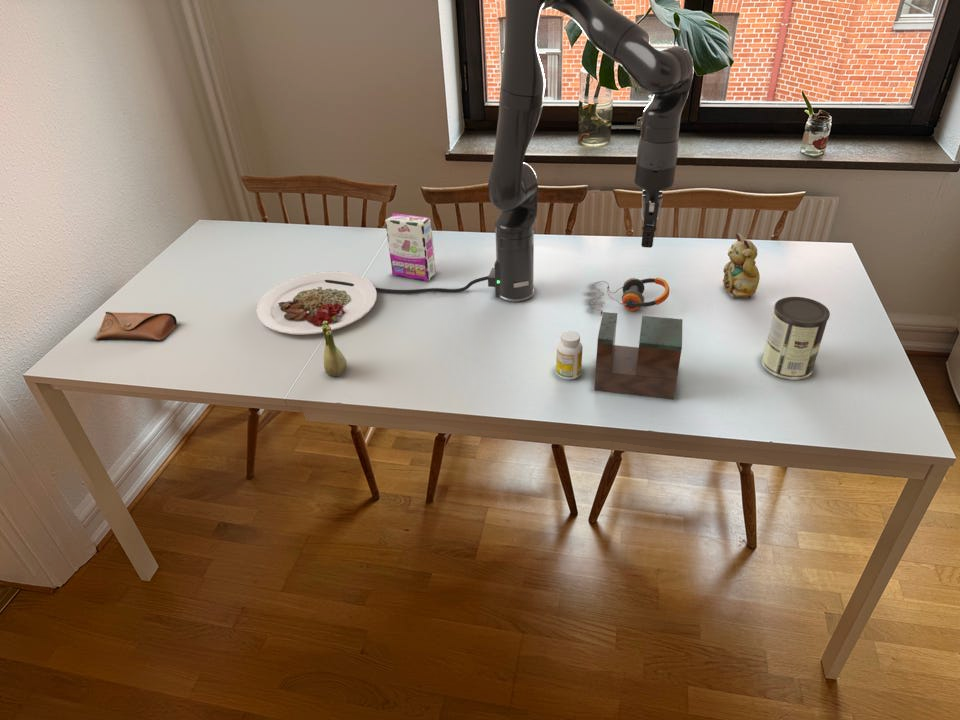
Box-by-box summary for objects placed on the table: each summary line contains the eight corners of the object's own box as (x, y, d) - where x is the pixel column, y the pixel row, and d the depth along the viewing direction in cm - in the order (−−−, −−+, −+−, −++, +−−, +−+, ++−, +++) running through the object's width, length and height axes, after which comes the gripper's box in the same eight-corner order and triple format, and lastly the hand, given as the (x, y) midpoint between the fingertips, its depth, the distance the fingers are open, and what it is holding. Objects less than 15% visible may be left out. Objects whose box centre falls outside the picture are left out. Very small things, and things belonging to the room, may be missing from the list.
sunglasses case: (91, 339, 165) (90, 312, 165) (109, 338, 172) (108, 311, 172) (162, 340, 164) (161, 312, 163) (178, 339, 171) (177, 312, 170)
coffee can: (792, 347, 151) (807, 292, 143) (823, 374, 143) (841, 317, 135) (751, 357, 149) (764, 301, 141) (780, 384, 141) (796, 327, 133)
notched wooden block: (594, 390, 142) (597, 338, 134) (599, 362, 150) (602, 311, 142) (673, 399, 139) (682, 346, 131) (674, 370, 146) (682, 319, 139)
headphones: (587, 274, 176) (667, 262, 170) (591, 291, 179) (670, 281, 173) (582, 308, 163) (668, 297, 157) (586, 327, 166) (671, 317, 160)
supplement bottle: (563, 382, 144) (564, 345, 139) (551, 369, 149) (552, 332, 143) (585, 376, 146) (588, 339, 140) (573, 362, 150) (575, 326, 144)
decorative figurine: (714, 285, 174) (724, 230, 165) (744, 280, 176) (755, 226, 167) (734, 304, 167) (745, 248, 158) (765, 298, 168) (778, 243, 159)
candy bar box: (436, 273, 186) (431, 217, 176) (428, 282, 182) (423, 225, 172) (400, 267, 189) (393, 212, 180) (391, 275, 186) (384, 219, 176)
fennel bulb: (330, 363, 154) (320, 318, 147) (351, 364, 153) (342, 319, 146) (322, 379, 149) (312, 333, 142) (344, 380, 149) (335, 334, 142)
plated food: (320, 267, 191) (318, 257, 189) (401, 296, 177) (400, 284, 175) (233, 317, 172) (229, 305, 170) (316, 353, 157) (313, 341, 155)
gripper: (637, 147, 138) (630, 221, 148) (634, 173, 127) (627, 251, 137) (676, 148, 137) (666, 223, 146) (676, 175, 126) (665, 254, 135)
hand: (647, 237), depth 142 cm, fingers open, 8 cm apart
